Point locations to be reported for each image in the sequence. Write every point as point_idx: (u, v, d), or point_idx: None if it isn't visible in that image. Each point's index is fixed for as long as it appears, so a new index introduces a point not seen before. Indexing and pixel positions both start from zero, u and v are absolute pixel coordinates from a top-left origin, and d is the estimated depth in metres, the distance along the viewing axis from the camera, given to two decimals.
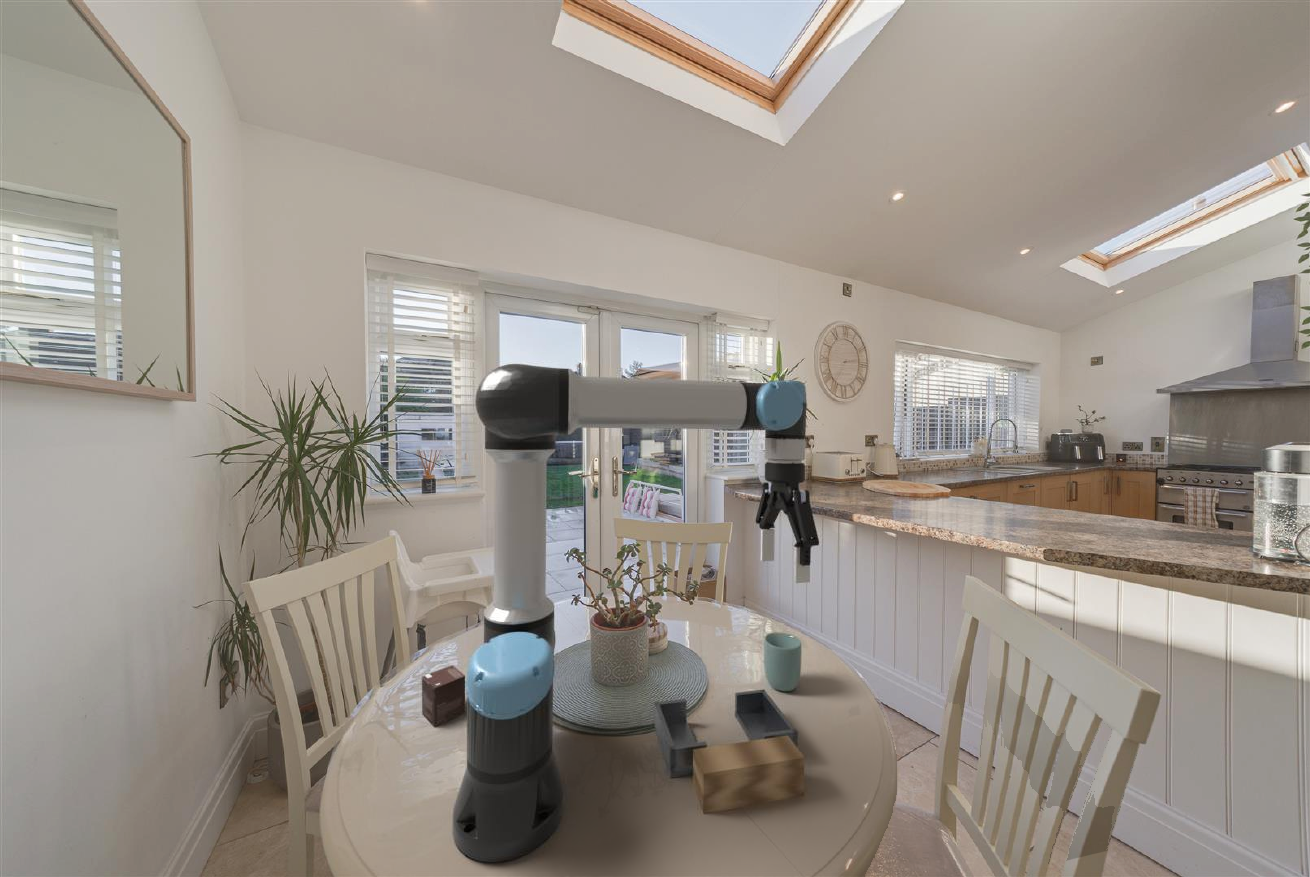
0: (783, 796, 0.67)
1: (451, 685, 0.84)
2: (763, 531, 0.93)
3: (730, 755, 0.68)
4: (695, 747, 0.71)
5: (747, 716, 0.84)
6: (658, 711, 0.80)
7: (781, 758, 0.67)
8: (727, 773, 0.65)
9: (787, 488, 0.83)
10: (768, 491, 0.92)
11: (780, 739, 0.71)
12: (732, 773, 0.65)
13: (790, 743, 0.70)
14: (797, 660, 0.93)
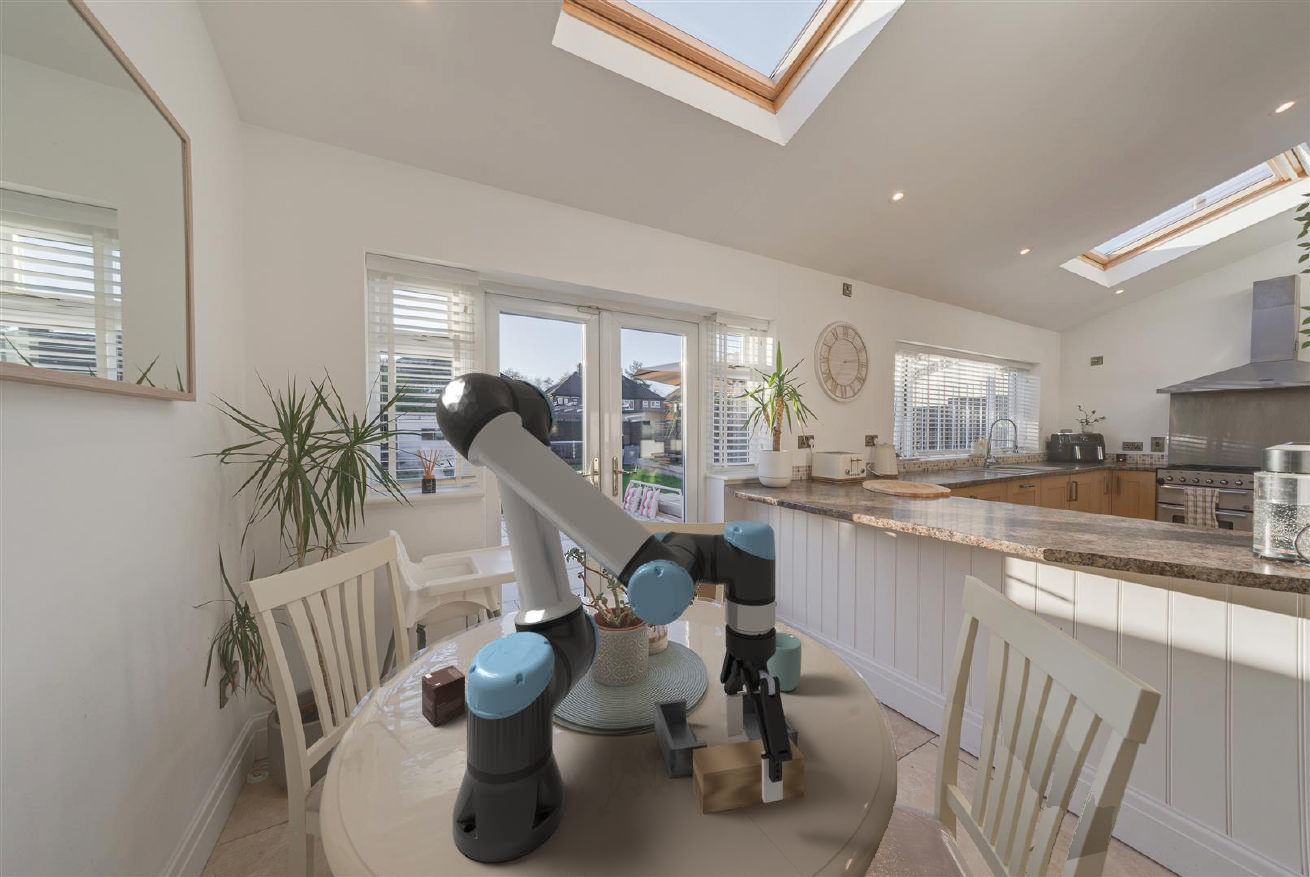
0: (783, 795, 0.67)
1: (451, 685, 0.84)
2: (728, 699, 0.74)
3: (730, 755, 0.68)
4: (695, 747, 0.71)
5: (747, 716, 0.84)
6: (658, 711, 0.80)
7: None
8: (726, 773, 0.65)
9: (752, 667, 0.65)
10: None
11: None
12: (732, 773, 0.65)
13: (790, 743, 0.70)
14: (797, 660, 0.93)
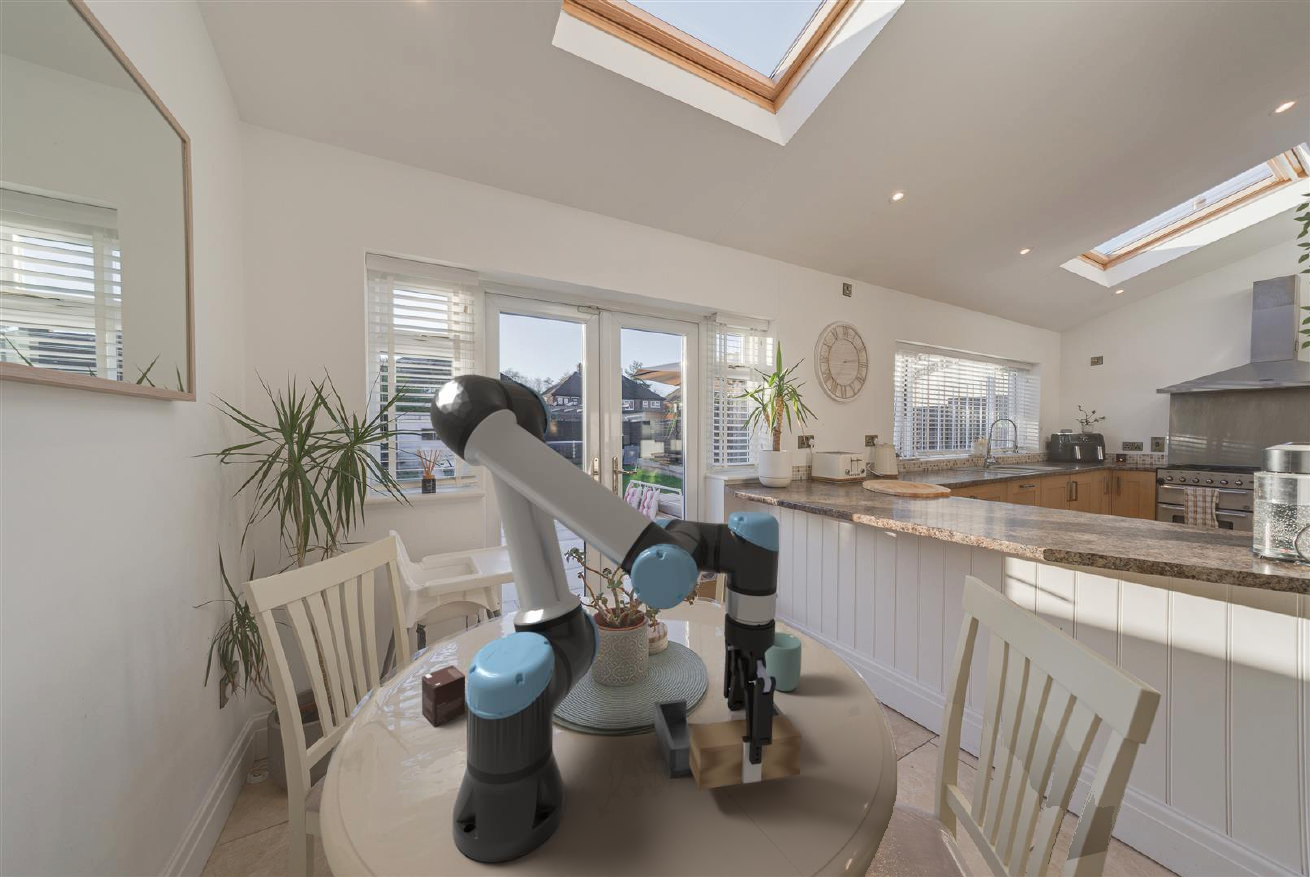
0: (779, 772, 0.67)
1: (451, 685, 0.84)
2: (732, 715, 0.70)
3: (727, 732, 0.68)
4: None
5: None
6: (658, 711, 0.80)
7: (778, 736, 0.67)
8: (723, 749, 0.65)
9: (751, 659, 0.64)
10: (731, 648, 0.72)
11: (777, 718, 0.71)
12: (729, 749, 0.65)
13: (787, 721, 0.71)
14: (797, 660, 0.93)
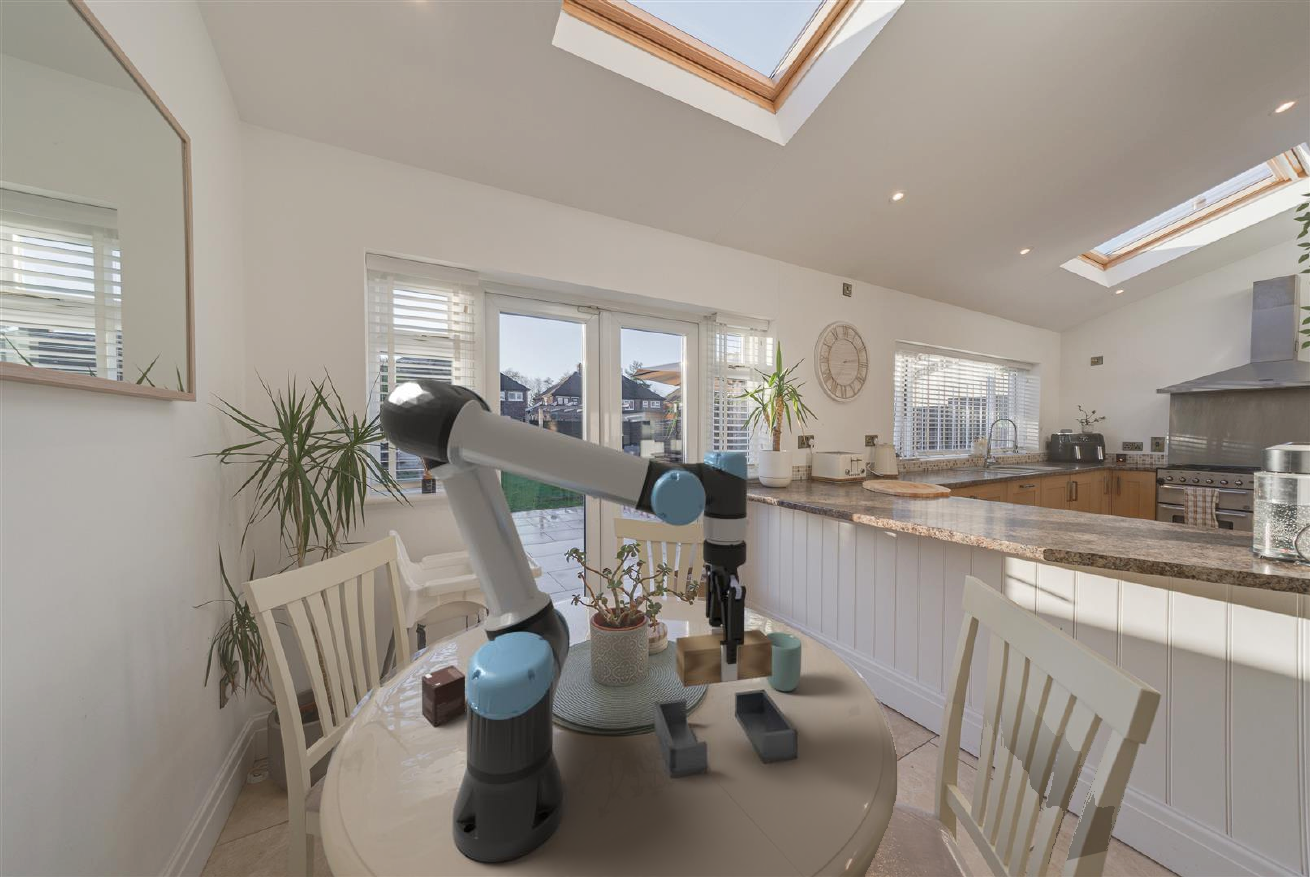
0: (753, 674, 0.77)
1: (451, 685, 0.84)
2: (712, 630, 0.81)
3: (708, 641, 0.78)
4: (695, 747, 0.71)
5: (747, 716, 0.84)
6: (658, 711, 0.80)
7: (751, 643, 0.78)
8: (704, 652, 0.75)
9: (725, 574, 0.75)
10: None
11: (753, 631, 0.82)
12: (709, 652, 0.76)
13: (761, 634, 0.81)
14: (797, 660, 0.93)
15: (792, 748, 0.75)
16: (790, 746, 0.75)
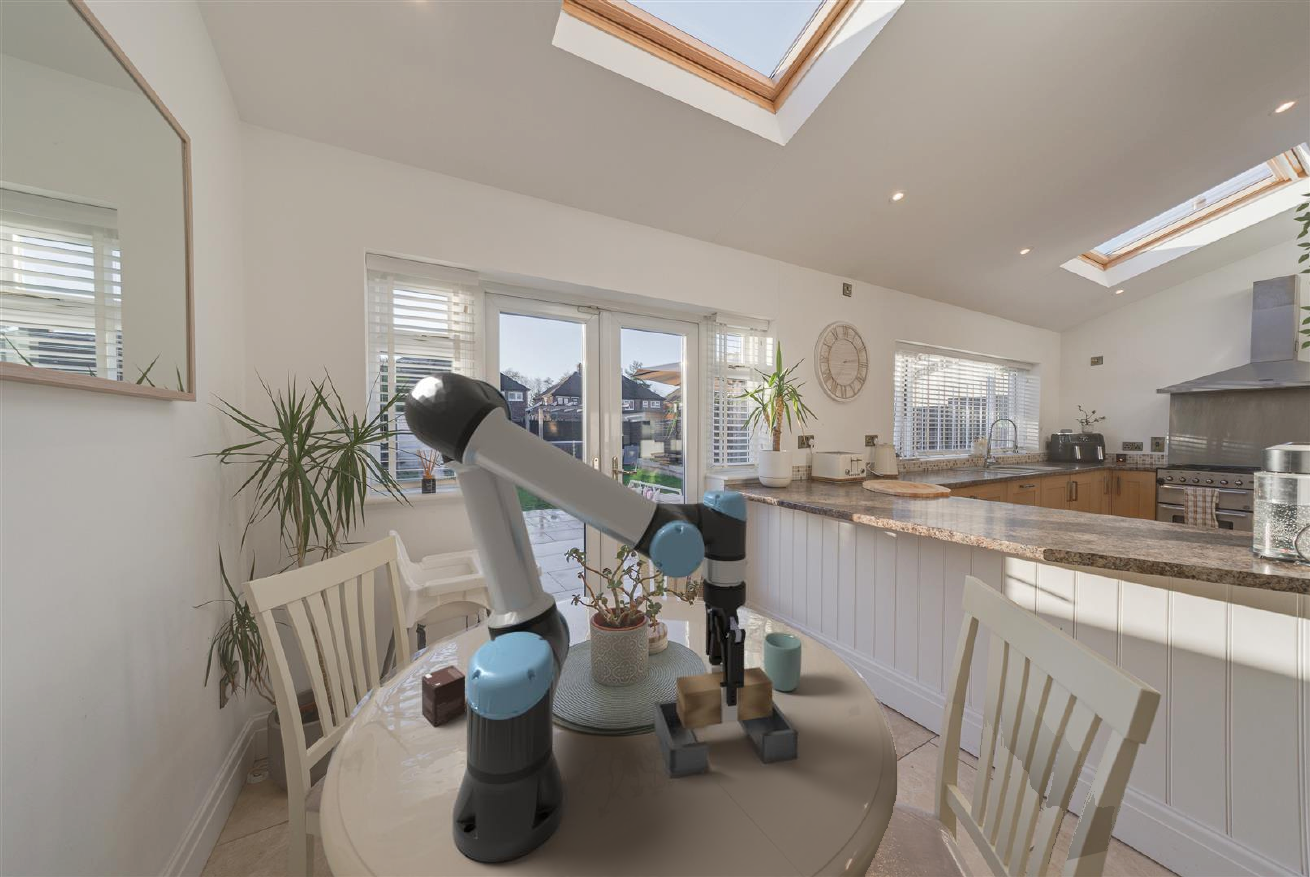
0: (754, 714, 0.77)
1: (451, 685, 0.84)
2: (712, 669, 0.81)
3: (708, 681, 0.78)
4: (695, 747, 0.71)
5: None
6: (658, 711, 0.80)
7: (752, 683, 0.78)
8: (704, 694, 0.75)
9: (725, 616, 0.75)
10: None
11: (753, 669, 0.82)
12: (709, 693, 0.76)
13: (761, 672, 0.81)
14: (797, 660, 0.93)
15: (792, 748, 0.75)
16: (790, 746, 0.75)
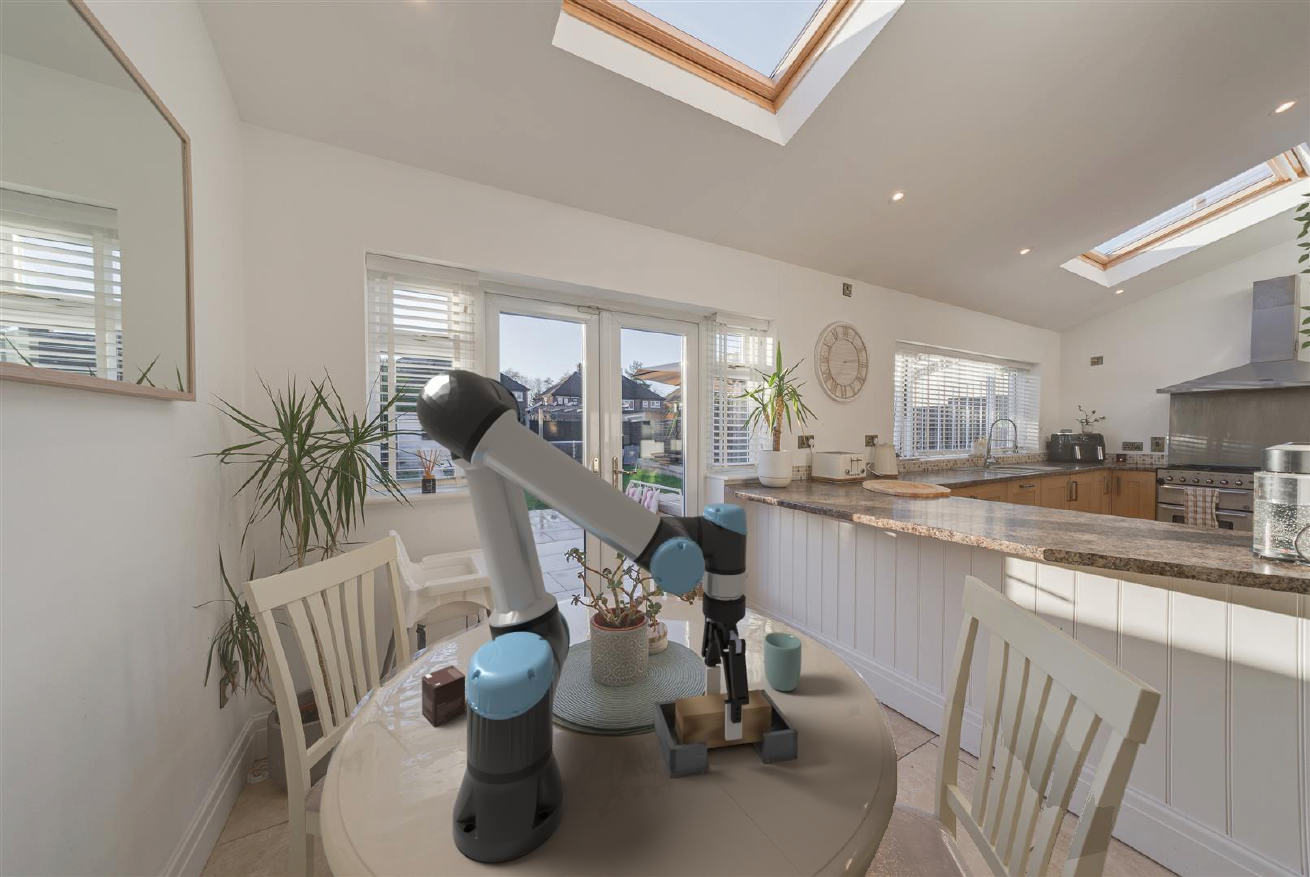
0: (752, 738, 0.77)
1: (451, 685, 0.84)
2: (708, 670, 0.83)
3: (707, 703, 0.79)
4: (695, 747, 0.71)
5: None
6: (658, 711, 0.80)
7: (751, 706, 0.78)
8: (703, 717, 0.76)
9: (724, 629, 0.75)
10: (710, 620, 0.84)
11: (752, 692, 0.82)
12: (708, 716, 0.76)
13: (760, 695, 0.81)
14: (797, 660, 0.93)
15: (792, 748, 0.75)
16: (790, 746, 0.75)
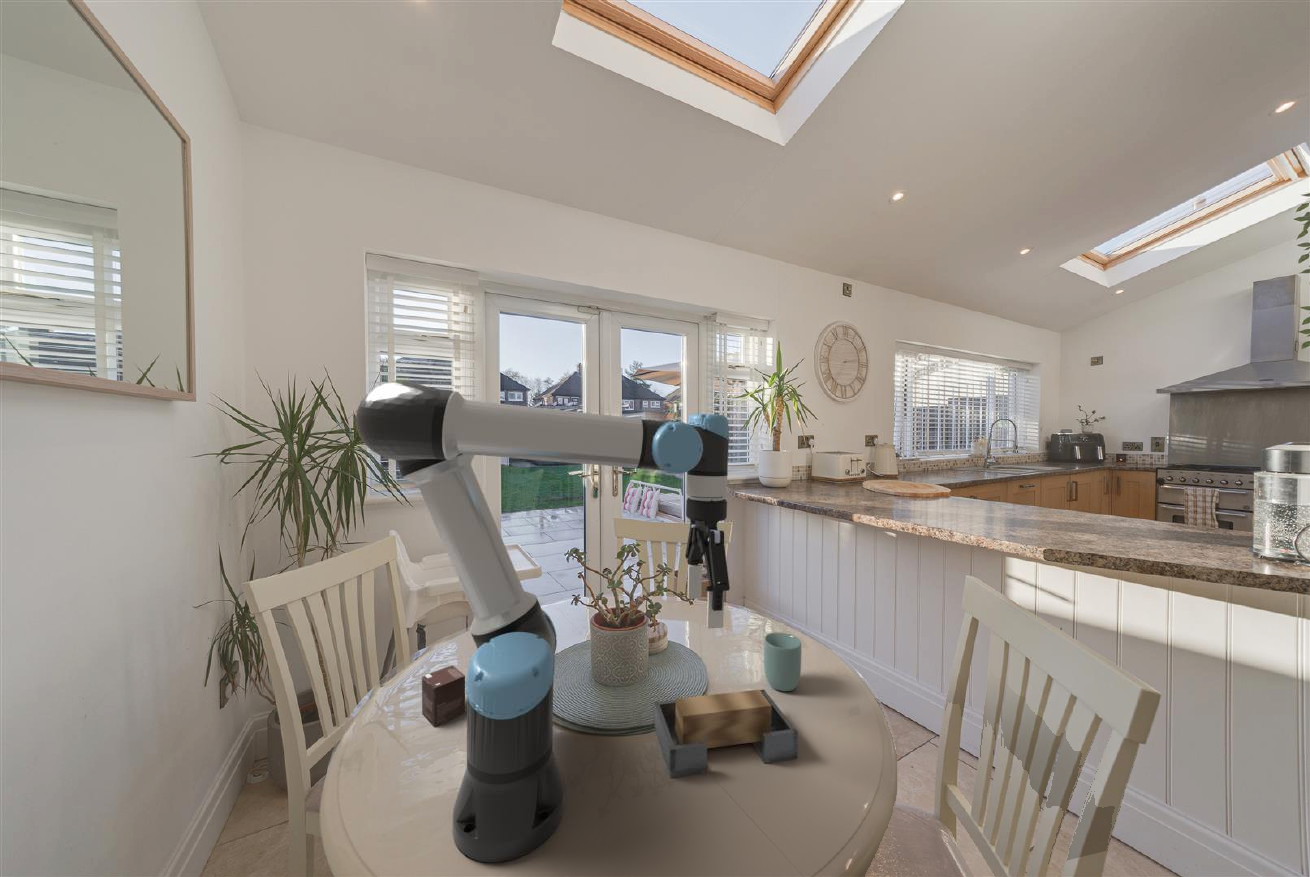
0: (752, 738, 0.77)
1: (451, 685, 0.84)
2: (690, 567, 0.89)
3: (707, 703, 0.79)
4: (695, 747, 0.71)
5: None
6: (658, 711, 0.80)
7: (751, 706, 0.78)
8: (703, 717, 0.76)
9: (705, 527, 0.80)
10: (694, 526, 0.88)
11: (752, 692, 0.82)
12: (708, 716, 0.76)
13: (760, 695, 0.81)
14: (797, 660, 0.93)
15: (792, 748, 0.75)
16: (790, 746, 0.75)
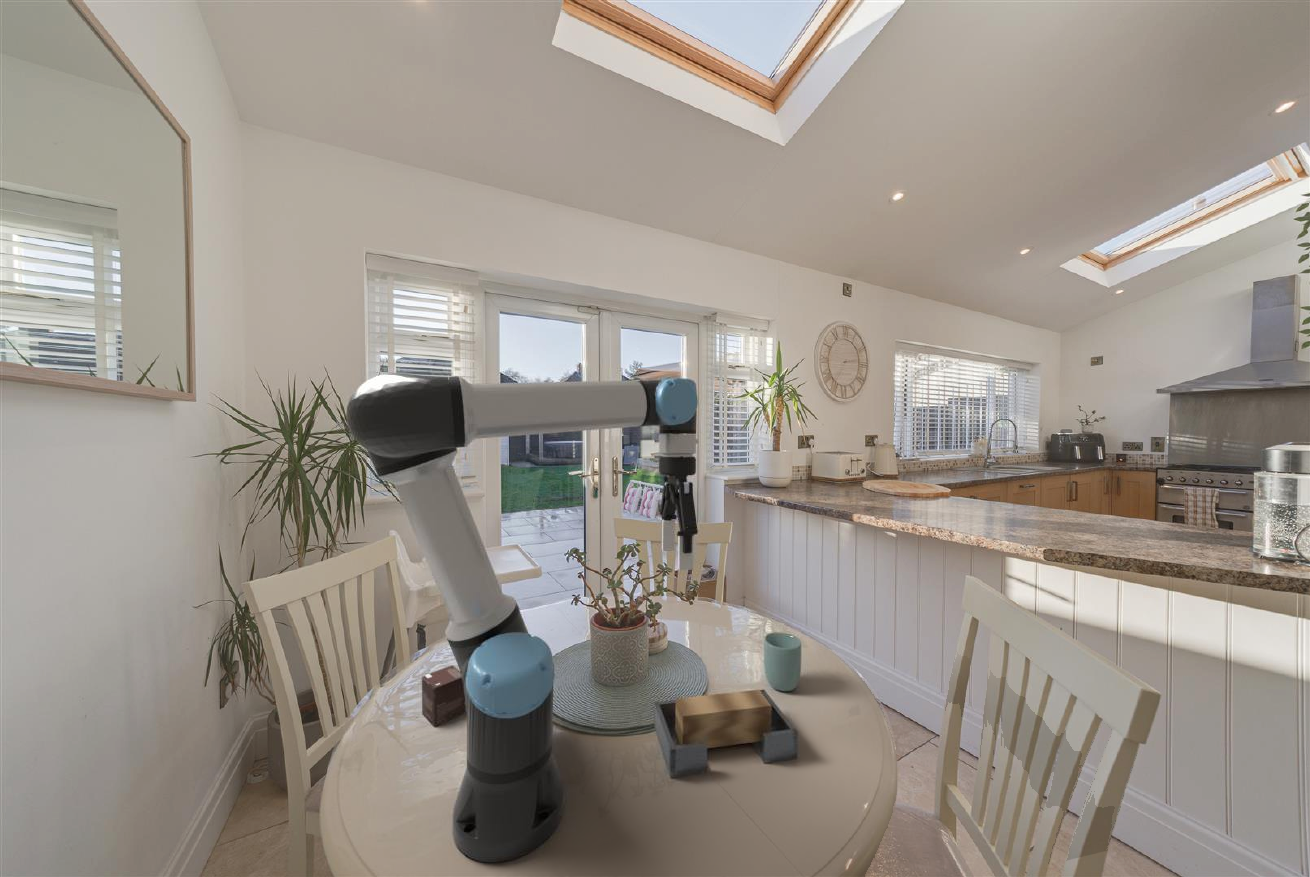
0: (752, 738, 0.77)
1: (451, 685, 0.84)
2: (664, 522, 0.97)
3: (707, 703, 0.79)
4: (695, 747, 0.71)
5: None
6: (658, 711, 0.80)
7: (751, 706, 0.78)
8: (703, 717, 0.76)
9: (676, 480, 0.88)
10: None
11: (752, 692, 0.82)
12: (708, 716, 0.76)
13: (760, 695, 0.81)
14: (797, 660, 0.93)
15: (792, 748, 0.75)
16: (790, 746, 0.75)
